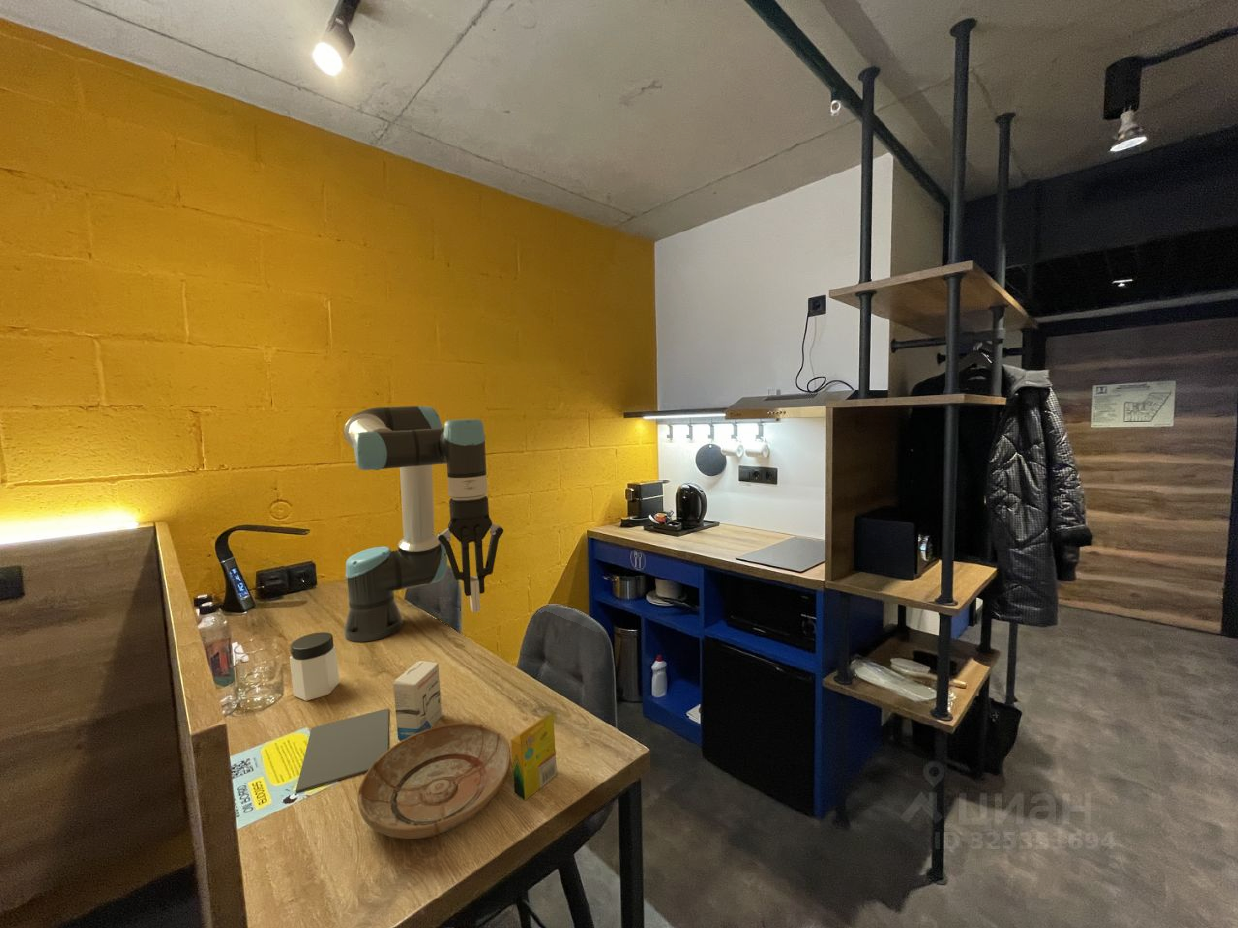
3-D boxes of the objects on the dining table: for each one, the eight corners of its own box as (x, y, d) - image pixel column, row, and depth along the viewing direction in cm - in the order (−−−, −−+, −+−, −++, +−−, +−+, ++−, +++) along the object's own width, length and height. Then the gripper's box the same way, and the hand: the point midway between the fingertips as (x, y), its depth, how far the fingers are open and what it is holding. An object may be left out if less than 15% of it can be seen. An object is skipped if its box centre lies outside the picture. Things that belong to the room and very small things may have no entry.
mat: (311, 729, 99) (311, 727, 99) (388, 709, 104) (388, 708, 104) (295, 792, 82) (295, 790, 82) (387, 765, 88) (387, 763, 88)
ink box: (419, 742, 94) (414, 685, 93) (396, 739, 95) (391, 682, 94) (443, 714, 102) (439, 661, 101) (422, 712, 103) (418, 659, 102)
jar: (310, 679, 117) (305, 631, 115) (345, 677, 117) (340, 630, 116) (286, 702, 108) (280, 650, 107) (324, 700, 108) (318, 649, 107)
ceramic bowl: (403, 746, 93) (400, 721, 93) (525, 745, 93) (524, 721, 92) (327, 858, 70) (324, 827, 70) (489, 859, 70) (487, 827, 69)
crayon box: (546, 767, 87) (543, 705, 85) (558, 774, 85) (555, 712, 84) (513, 793, 81) (509, 728, 80) (524, 801, 79) (521, 735, 78)
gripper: (435, 503, 92) (443, 622, 95) (505, 496, 97) (511, 609, 100) (432, 496, 99) (440, 608, 102) (498, 490, 104) (503, 597, 107)
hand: (475, 609), depth 101 cm, fingers closed
